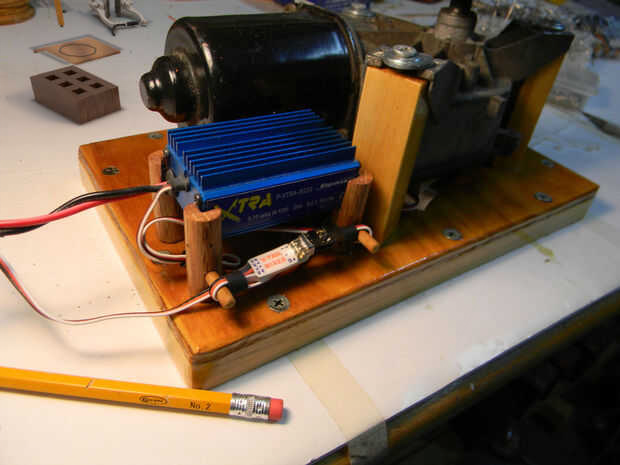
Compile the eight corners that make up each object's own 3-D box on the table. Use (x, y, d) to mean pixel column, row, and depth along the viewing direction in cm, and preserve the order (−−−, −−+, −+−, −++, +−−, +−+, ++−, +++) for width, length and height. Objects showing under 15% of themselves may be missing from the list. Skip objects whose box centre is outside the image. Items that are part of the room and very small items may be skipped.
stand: (81, 128, 92) (75, 100, 89) (36, 104, 97) (29, 76, 93) (121, 113, 99) (118, 86, 95) (77, 91, 104) (72, 64, 100)
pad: (66, 67, 112) (65, 64, 112) (33, 52, 116) (33, 49, 116) (120, 52, 123) (120, 50, 123) (89, 39, 127) (88, 36, 127)
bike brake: (83, 10, 141) (113, 43, 133) (81, -14, 136) (112, 19, 128) (127, 7, 149) (158, 38, 141) (127, -15, 144) (159, 16, 136)
